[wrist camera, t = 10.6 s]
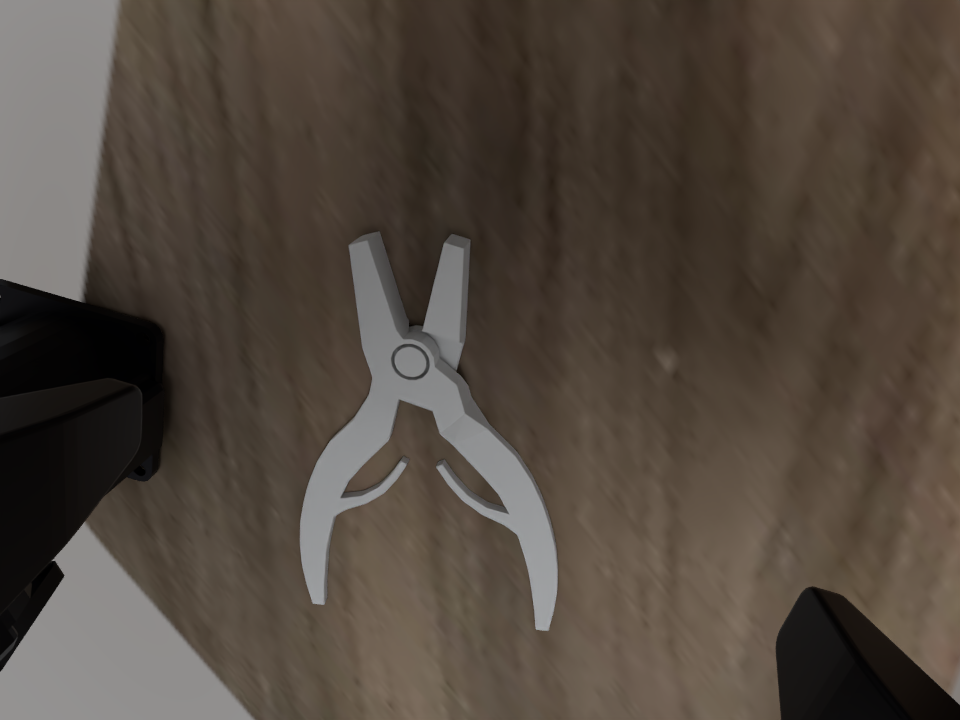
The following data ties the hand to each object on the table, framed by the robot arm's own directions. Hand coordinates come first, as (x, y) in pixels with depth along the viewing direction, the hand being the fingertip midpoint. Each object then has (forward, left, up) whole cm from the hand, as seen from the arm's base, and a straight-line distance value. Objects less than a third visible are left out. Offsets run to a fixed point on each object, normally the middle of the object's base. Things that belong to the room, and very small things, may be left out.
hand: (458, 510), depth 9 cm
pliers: (-2, -8, -14) cm, 16 cm away
